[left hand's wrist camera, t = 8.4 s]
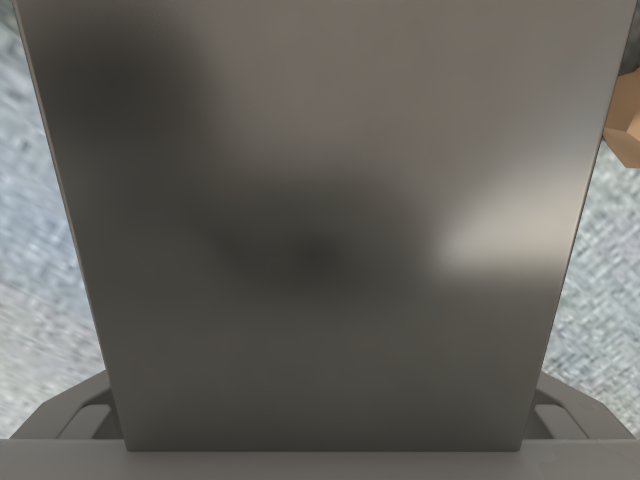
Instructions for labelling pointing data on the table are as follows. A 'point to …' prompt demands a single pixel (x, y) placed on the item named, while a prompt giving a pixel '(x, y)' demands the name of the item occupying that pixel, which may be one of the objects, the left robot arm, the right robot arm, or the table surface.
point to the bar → (324, 208)
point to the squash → (625, 120)
